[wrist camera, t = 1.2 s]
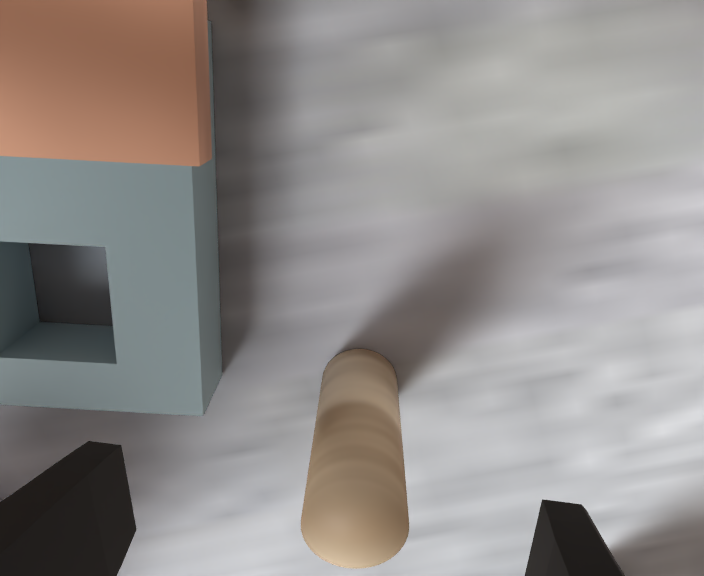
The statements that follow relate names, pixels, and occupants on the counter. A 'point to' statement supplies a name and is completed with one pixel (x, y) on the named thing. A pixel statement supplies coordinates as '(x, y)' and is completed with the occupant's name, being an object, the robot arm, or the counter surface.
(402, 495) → the birch peg
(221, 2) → the counter surface
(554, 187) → the counter surface
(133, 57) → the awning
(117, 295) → the socket block
